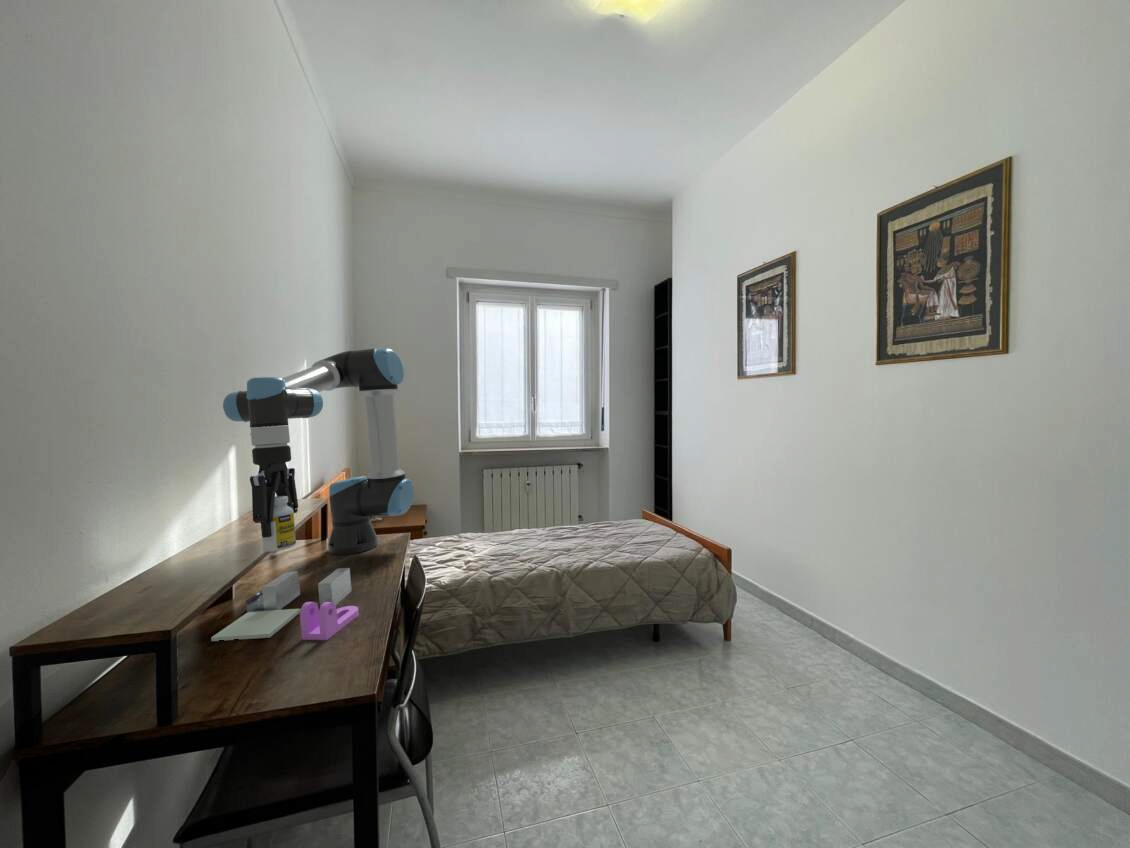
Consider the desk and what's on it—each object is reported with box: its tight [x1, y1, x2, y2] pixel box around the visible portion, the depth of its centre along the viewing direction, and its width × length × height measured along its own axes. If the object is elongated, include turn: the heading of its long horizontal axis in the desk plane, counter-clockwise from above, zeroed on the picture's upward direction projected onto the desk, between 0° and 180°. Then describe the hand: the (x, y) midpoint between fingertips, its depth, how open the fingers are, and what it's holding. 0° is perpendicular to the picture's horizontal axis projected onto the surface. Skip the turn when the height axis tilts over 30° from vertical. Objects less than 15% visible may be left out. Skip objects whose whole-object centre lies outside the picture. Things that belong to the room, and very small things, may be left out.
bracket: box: [299, 601, 360, 641], centre depth 105 cm, size 13×6×7 cm, turn 171°
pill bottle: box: [272, 495, 297, 552], centre depth 112 cm, size 6×6×12 cm
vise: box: [245, 567, 353, 613], centre depth 118 cm, size 10×21×6 cm, turn 90°
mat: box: [210, 608, 301, 642], centre depth 107 cm, size 12×12×1 cm
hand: (279, 546), depth 112 cm, fingers closed on pill bottle, 6 cm apart
